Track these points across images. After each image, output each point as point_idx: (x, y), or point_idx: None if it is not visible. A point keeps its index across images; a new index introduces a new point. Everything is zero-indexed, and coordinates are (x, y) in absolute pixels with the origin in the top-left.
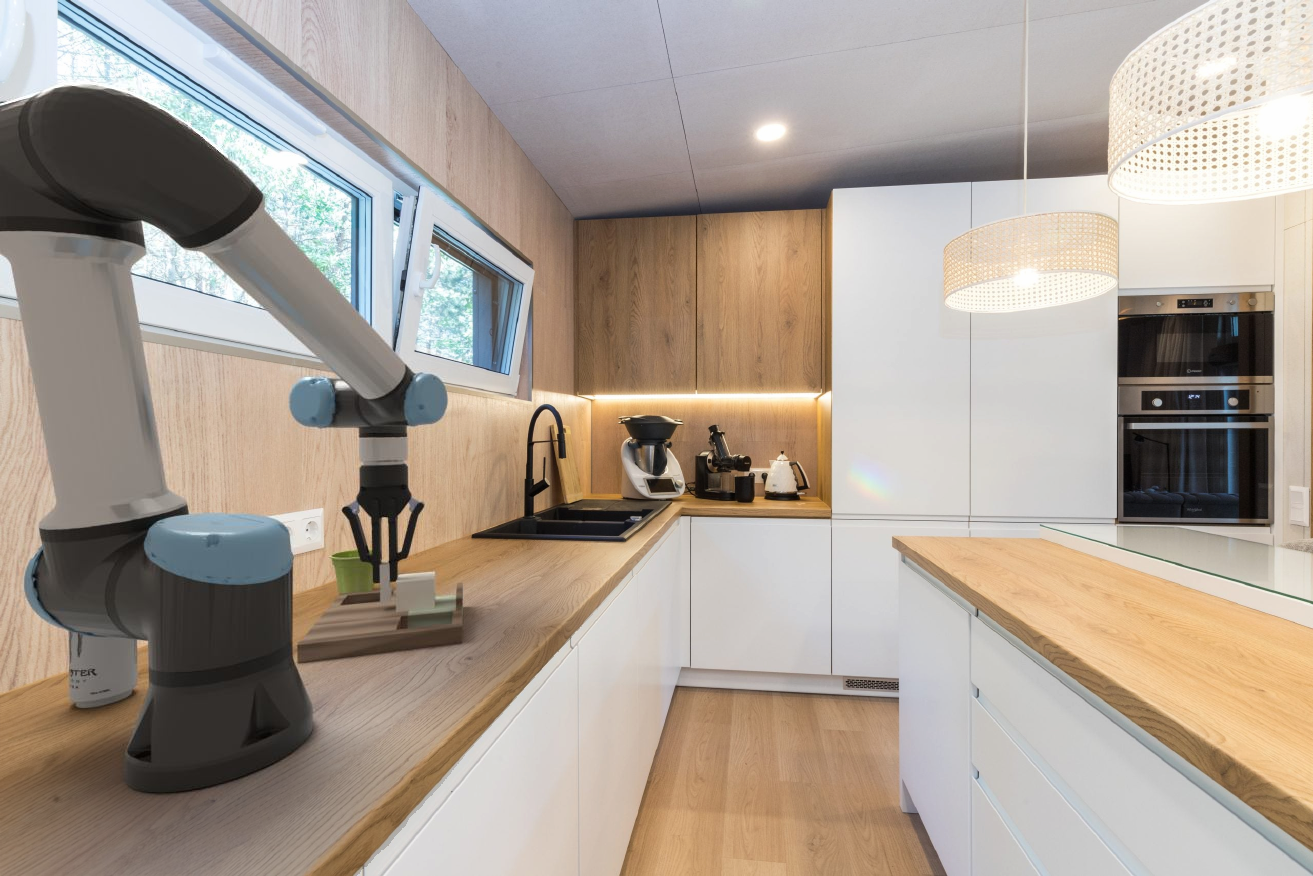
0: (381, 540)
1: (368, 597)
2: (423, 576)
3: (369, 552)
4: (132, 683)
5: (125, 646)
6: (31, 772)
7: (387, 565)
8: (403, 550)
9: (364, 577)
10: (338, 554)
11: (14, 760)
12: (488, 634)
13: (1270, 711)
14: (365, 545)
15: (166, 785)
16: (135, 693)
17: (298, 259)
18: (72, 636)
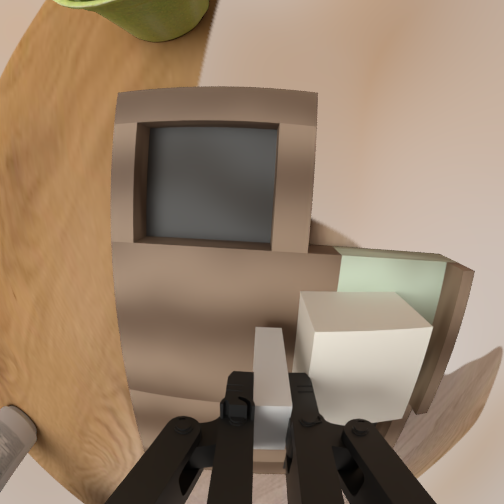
0: (251, 493)
1: (199, 122)
2: (386, 387)
3: (195, 441)
4: (34, 438)
5: (17, 465)
6: (78, 496)
7: (278, 447)
8: (346, 481)
9: (173, 10)
10: None
11: (55, 479)
12: (418, 425)
13: None
14: (181, 495)
15: None
16: (35, 424)
17: None
18: None
